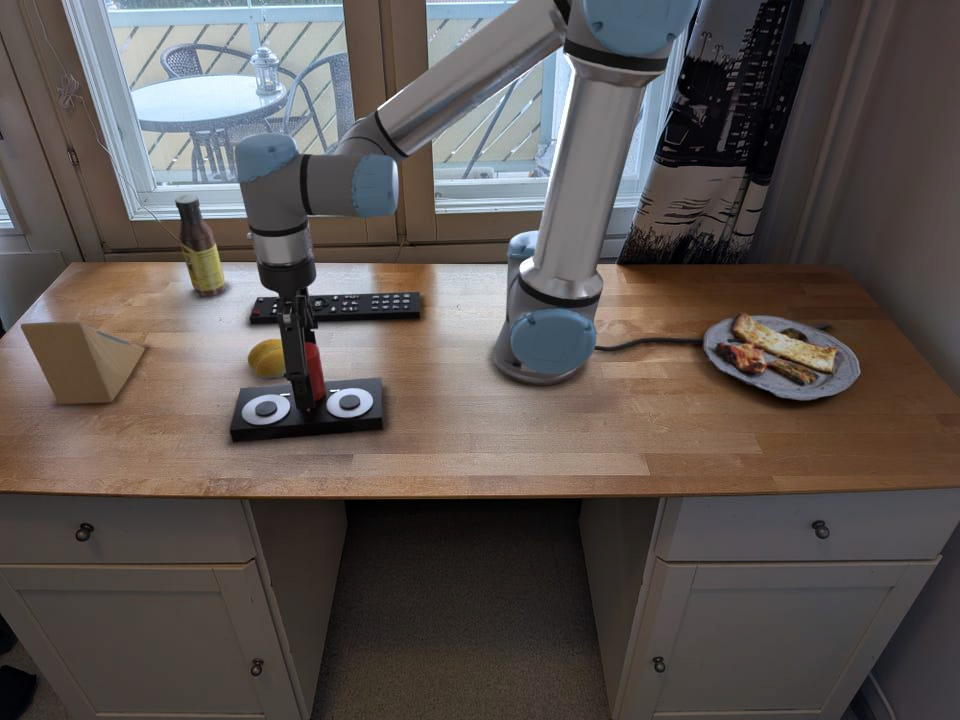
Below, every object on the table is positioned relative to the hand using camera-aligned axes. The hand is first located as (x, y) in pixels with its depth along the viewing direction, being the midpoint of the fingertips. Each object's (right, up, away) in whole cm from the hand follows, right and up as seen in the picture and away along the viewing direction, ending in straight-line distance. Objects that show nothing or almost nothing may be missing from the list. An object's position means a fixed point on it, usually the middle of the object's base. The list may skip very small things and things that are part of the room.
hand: (308, 386), depth 100 cm
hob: (0, -5, +1) cm, 4 cm away
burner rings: (0, -3, -2) cm, 4 cm away
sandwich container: (-36, +1, +9) cm, 37 cm away
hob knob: (0, -1, +1) cm, 1 cm away
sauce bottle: (-28, +18, +32) cm, 46 cm away
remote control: (-1, +13, +26) cm, 29 cm away
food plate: (+78, +3, +13) cm, 79 cm away
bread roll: (-9, +3, +11) cm, 14 cm away
